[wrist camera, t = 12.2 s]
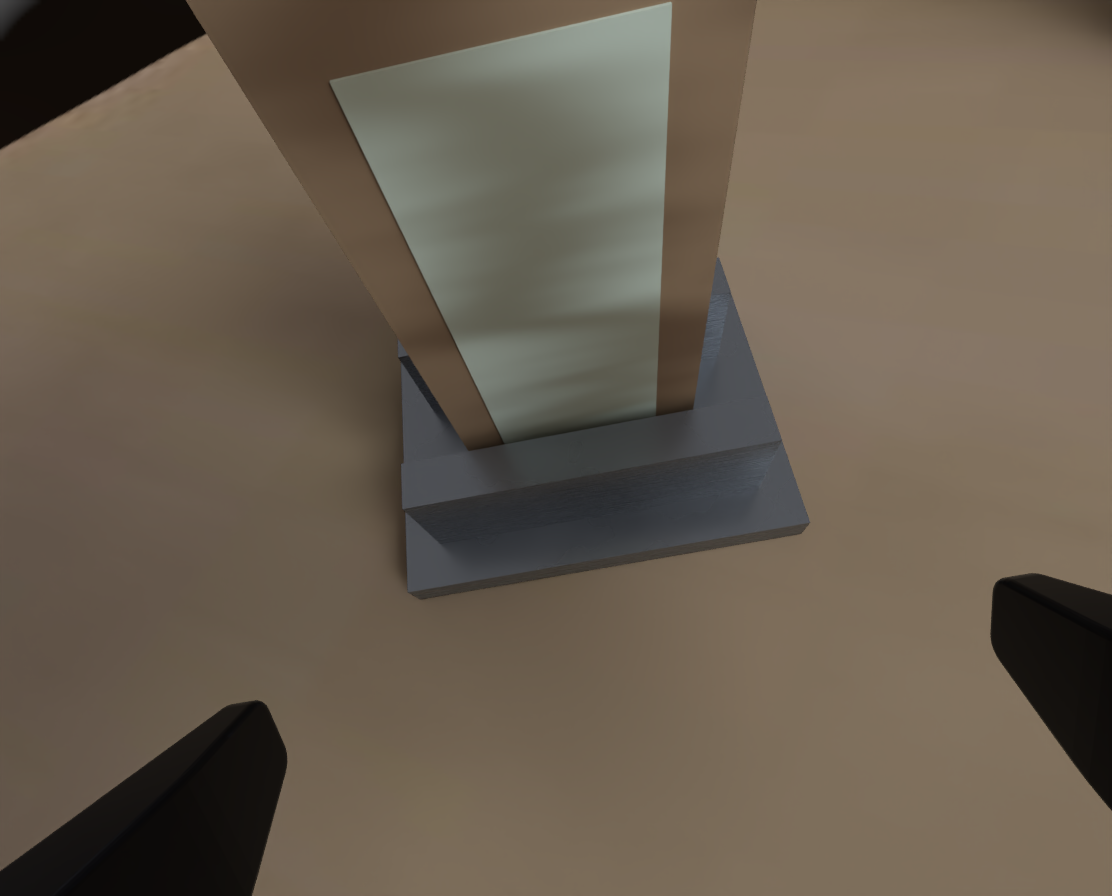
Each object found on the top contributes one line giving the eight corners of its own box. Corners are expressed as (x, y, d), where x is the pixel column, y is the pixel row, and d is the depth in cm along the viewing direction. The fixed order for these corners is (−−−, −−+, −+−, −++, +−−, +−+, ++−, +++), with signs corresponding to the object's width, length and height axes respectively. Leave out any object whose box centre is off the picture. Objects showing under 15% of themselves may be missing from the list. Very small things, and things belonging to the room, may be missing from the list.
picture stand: (725, 308, 20) (743, 217, 17) (801, 533, 17) (844, 479, 13) (411, 370, 21) (362, 295, 17) (419, 599, 17) (361, 565, 14)
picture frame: (671, 381, 18) (723, -246, 6) (688, 442, 17) (784, -160, 6) (479, 418, 18) (199, -114, 7) (485, 480, 18) (174, -13, 6)
